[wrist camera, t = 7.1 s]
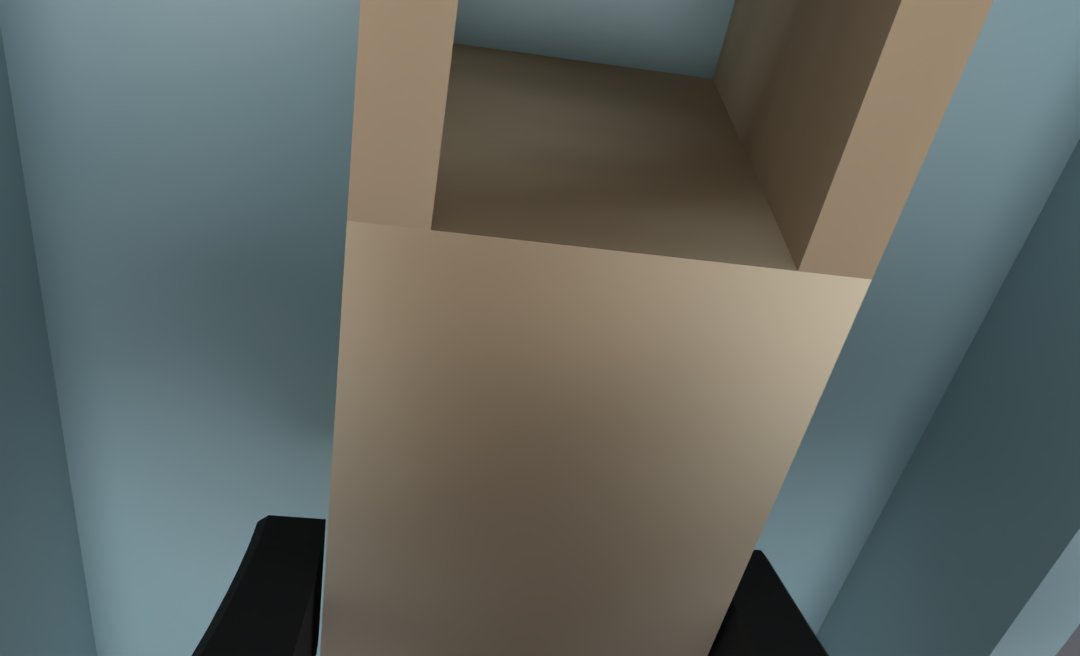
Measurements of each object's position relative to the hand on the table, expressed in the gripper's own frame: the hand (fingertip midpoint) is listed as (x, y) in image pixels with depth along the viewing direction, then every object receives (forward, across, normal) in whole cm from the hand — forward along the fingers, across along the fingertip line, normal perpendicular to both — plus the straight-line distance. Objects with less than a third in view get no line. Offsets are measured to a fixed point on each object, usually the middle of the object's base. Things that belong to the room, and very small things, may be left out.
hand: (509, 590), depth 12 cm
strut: (+2, 0, -2) cm, 3 cm away
